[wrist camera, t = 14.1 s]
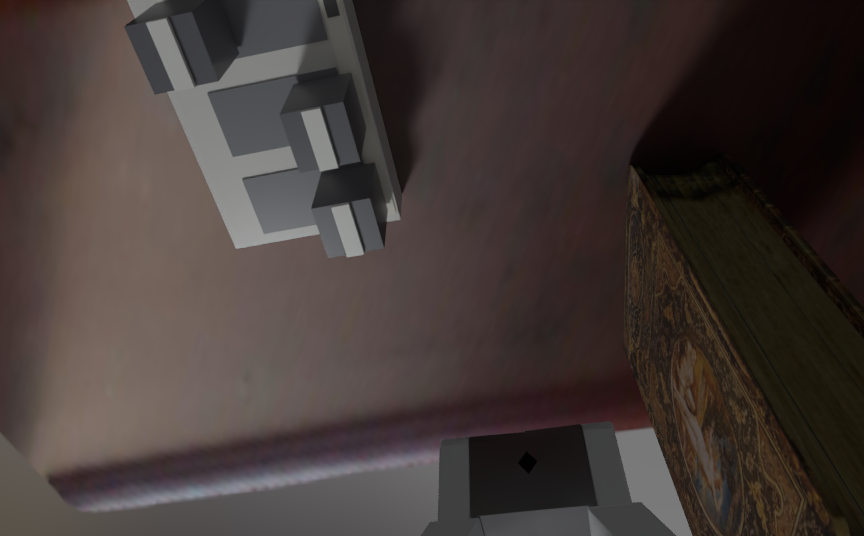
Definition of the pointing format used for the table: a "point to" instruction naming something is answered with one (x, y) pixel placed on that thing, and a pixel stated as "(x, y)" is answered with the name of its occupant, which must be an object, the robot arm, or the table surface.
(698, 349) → the book
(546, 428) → the robot arm
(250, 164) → the switch panel
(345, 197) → the tab
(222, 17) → the tab
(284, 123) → the tab middle
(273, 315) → the table surface
